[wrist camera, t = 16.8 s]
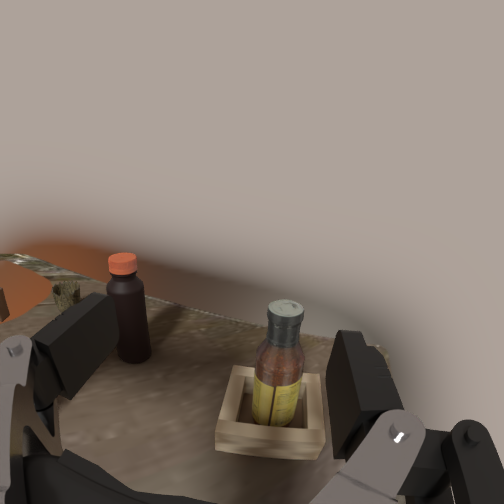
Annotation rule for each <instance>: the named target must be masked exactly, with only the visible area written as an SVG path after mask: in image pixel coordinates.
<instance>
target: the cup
mask: <svg viewBox="0 0 504 504" xmlns="http://www.w3.org/2000/svg"><path fill="white" fill-rule="evenodd" d="M52 290H53V292H52V294H53V297H54V300H55V303H56V305H57V307H58V309H59V310H60V311H61V312H64V311H65V310H66V309H68V308H69V307H70V306H73V305H75V304H77V303H79V302H80V287H79V284H78V283H77V281H76V282H75V283H73V281H71V284H70V282H69V281H67V282H65V281H64V282H63V284H61V283H60V282H59V285H56V284H55V285H54V287H52Z"/></svg>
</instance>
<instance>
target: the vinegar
mask: <svg viewBox="0 0 504 504" xmlns="http://www.w3.org/2000/svg"><path fill="white" fill-rule="evenodd" d="M108 261H109V271H110V274H111V275H112V278H111V280H110V281H109V282H108V284H107V287H106V290H107V295H109V296H112V298H113V299H114V302H115V309H116V315H117V321H118V327H119V340H118V343H117V345H116V346H117V351H118V355H119V357H120V358H121V359H122V360H123V361H125V362H128V363H140V362H143V361H145V360H147V359H148V358H149V357H150V355H151V346H150V339H149V332H148V323H147V315H146V305H145V294H144V285H143V282H142V281H141V280H140V279H139V278H138V277H137V276H136V273H137V258H136V255H134V254H132V253H117V254H113V255H112V256H110V257H109V258H108Z"/></svg>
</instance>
